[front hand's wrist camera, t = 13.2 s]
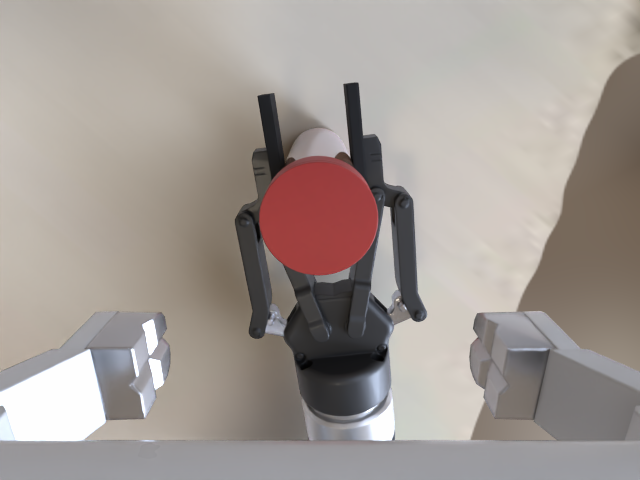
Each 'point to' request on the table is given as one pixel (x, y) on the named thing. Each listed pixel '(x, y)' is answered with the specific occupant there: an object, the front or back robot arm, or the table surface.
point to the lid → (318, 216)
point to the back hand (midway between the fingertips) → (308, 89)
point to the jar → (318, 146)
